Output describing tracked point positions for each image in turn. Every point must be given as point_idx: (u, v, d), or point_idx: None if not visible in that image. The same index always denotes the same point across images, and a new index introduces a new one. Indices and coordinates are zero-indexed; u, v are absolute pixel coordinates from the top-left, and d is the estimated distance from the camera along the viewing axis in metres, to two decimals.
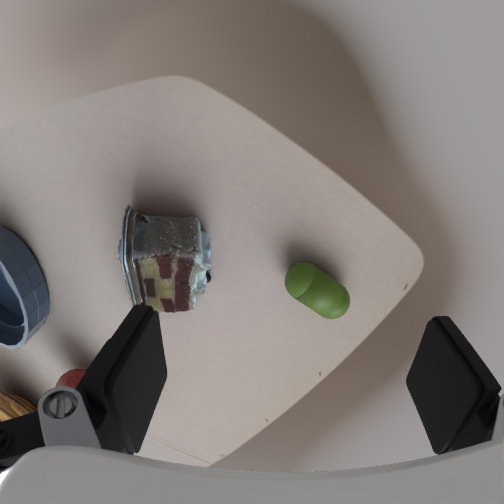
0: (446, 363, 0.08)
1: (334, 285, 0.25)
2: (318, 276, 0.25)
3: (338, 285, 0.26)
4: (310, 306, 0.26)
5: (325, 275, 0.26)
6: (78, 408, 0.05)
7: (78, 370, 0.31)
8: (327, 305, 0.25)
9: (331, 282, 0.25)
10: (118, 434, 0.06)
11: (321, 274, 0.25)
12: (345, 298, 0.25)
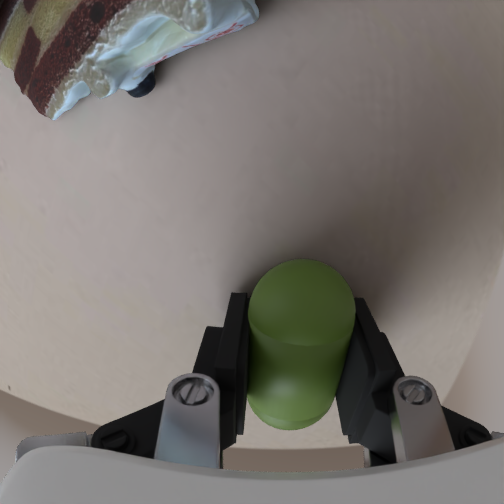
0: (350, 342, 0.09)
1: (336, 383, 0.09)
2: (343, 344, 0.08)
3: (337, 385, 0.09)
4: (254, 368, 0.09)
5: (347, 350, 0.09)
6: (216, 391, 0.06)
7: None
8: (286, 403, 0.09)
9: (339, 375, 0.09)
10: (235, 416, 0.08)
11: (348, 344, 0.09)
12: (319, 417, 0.09)
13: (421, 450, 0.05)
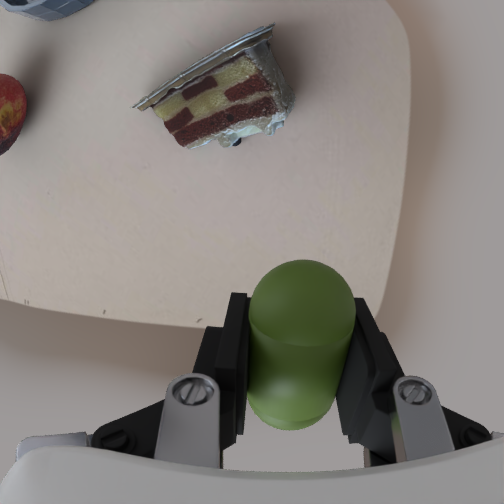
0: (350, 342, 0.09)
1: (336, 383, 0.09)
2: (344, 345, 0.08)
3: (337, 386, 0.10)
4: (255, 368, 0.09)
5: (347, 351, 0.09)
6: (216, 391, 0.06)
7: (21, 85, 0.18)
8: (286, 404, 0.09)
9: (339, 375, 0.09)
10: (235, 416, 0.08)
11: (348, 344, 0.09)
12: (320, 417, 0.09)
13: (421, 450, 0.05)
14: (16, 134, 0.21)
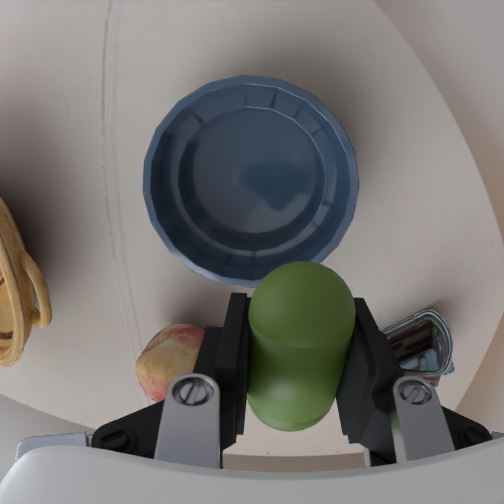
0: (350, 342, 0.09)
1: (336, 384, 0.09)
2: (343, 346, 0.08)
3: (337, 387, 0.09)
4: (254, 370, 0.09)
5: (347, 352, 0.09)
6: (216, 391, 0.06)
7: None
8: (286, 405, 0.09)
9: (339, 377, 0.09)
10: (235, 416, 0.08)
11: (348, 346, 0.09)
12: (319, 418, 0.09)
13: (421, 450, 0.05)
14: None
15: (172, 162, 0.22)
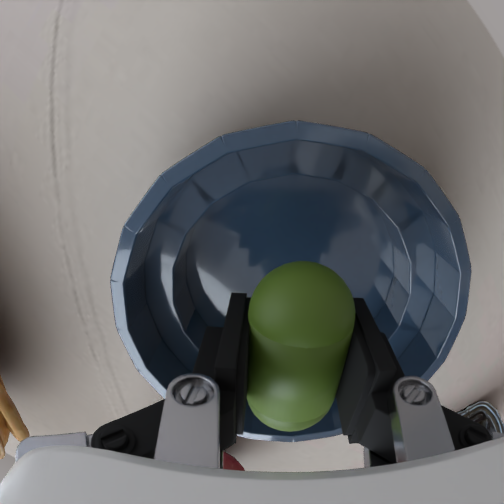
0: (350, 342, 0.09)
1: (336, 384, 0.09)
2: (343, 346, 0.08)
3: (337, 387, 0.09)
4: (254, 370, 0.09)
5: (346, 352, 0.09)
6: (216, 391, 0.06)
7: (237, 464, 0.18)
8: (286, 405, 0.09)
9: (339, 377, 0.09)
10: (235, 416, 0.08)
11: (347, 346, 0.09)
12: (319, 418, 0.09)
13: (421, 450, 0.05)
14: None
15: (161, 267, 0.13)
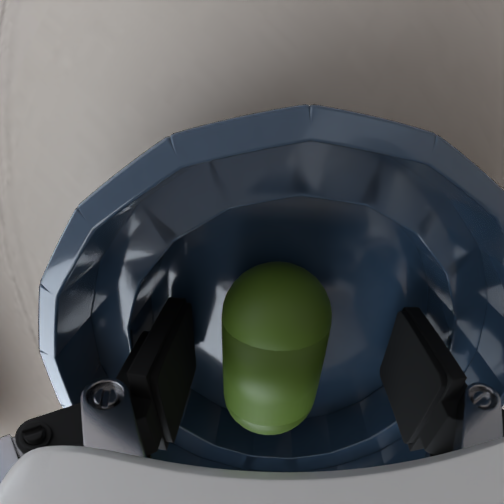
0: (413, 352, 0.08)
1: (298, 399, 0.08)
2: (298, 358, 0.08)
3: (305, 403, 0.09)
4: (222, 358, 0.09)
5: (314, 368, 0.08)
6: (125, 398, 0.06)
7: None
8: (240, 401, 0.09)
9: (301, 391, 0.08)
10: (158, 423, 0.07)
11: (310, 360, 0.08)
12: (280, 429, 0.09)
13: None
14: None
15: (113, 325, 0.09)
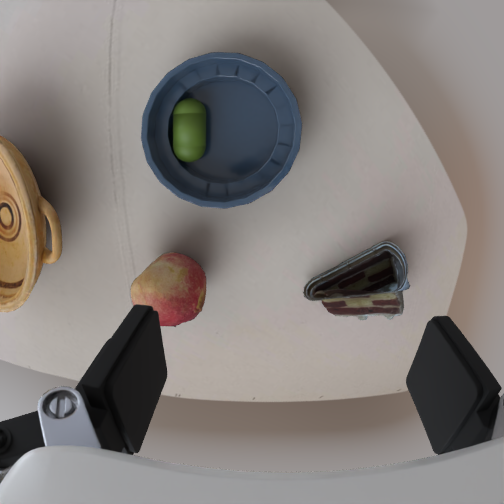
0: (446, 363, 0.08)
1: (173, 135, 0.28)
2: (173, 117, 0.27)
3: (175, 139, 0.28)
4: None
5: (175, 124, 0.27)
6: (78, 408, 0.05)
7: (199, 265, 0.33)
8: None
9: (173, 132, 0.28)
10: (118, 434, 0.06)
11: (174, 120, 0.27)
12: (173, 149, 0.29)
13: None
14: None
15: (163, 119, 0.27)
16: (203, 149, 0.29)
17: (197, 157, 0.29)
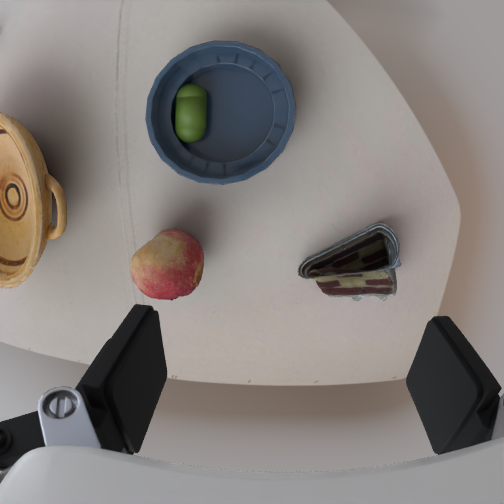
0: (446, 363, 0.08)
1: (176, 117, 0.29)
2: (176, 101, 0.29)
3: (177, 121, 0.29)
4: None
5: (178, 107, 0.28)
6: (78, 408, 0.05)
7: (197, 241, 0.34)
8: None
9: (176, 114, 0.29)
10: (118, 434, 0.06)
11: (177, 103, 0.28)
12: None
13: None
14: None
15: (167, 102, 0.29)
16: (203, 130, 0.30)
17: (197, 138, 0.30)
